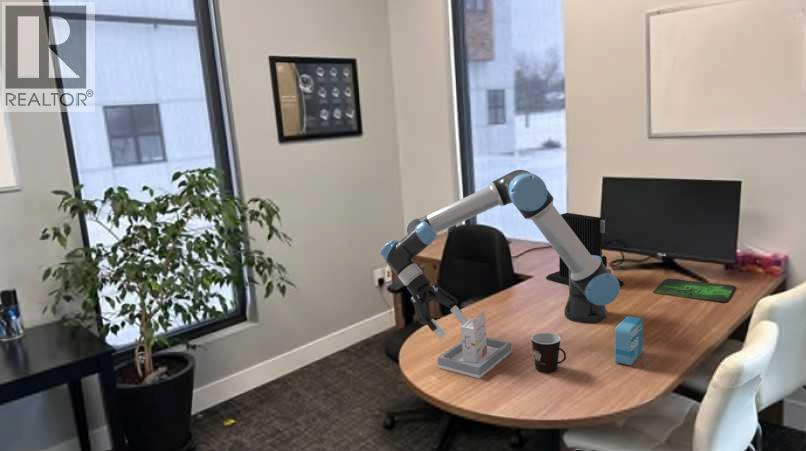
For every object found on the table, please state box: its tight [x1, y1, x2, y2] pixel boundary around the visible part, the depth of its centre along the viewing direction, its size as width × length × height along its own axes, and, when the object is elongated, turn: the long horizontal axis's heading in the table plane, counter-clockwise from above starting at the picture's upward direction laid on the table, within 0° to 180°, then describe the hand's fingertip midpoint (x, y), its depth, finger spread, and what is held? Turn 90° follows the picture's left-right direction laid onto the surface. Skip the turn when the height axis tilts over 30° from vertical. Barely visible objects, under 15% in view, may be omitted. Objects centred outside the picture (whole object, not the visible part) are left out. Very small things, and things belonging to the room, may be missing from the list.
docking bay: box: [437, 336, 513, 379], centre depth 185 cm, size 15×21×4 cm
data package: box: [614, 315, 644, 366], centre depth 177 cm, size 12×4×12 cm, turn 140°
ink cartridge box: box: [460, 311, 487, 363], centre depth 183 cm, size 9×5×15 cm, turn 147°
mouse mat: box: [652, 278, 737, 304], centre depth 233 cm, size 27×22×1 cm
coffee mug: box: [530, 332, 567, 374], centre depth 173 cm, size 12×9×10 cm
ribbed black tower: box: [545, 212, 625, 287], centre depth 251 cm, size 30×19×30 cm, turn 34°
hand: (454, 329), depth 187 cm, fingers open, 13 cm apart
